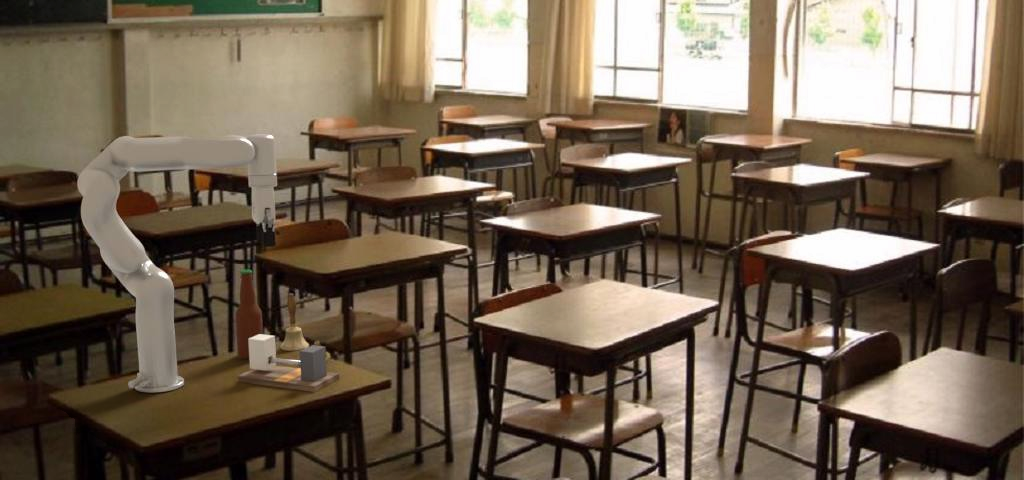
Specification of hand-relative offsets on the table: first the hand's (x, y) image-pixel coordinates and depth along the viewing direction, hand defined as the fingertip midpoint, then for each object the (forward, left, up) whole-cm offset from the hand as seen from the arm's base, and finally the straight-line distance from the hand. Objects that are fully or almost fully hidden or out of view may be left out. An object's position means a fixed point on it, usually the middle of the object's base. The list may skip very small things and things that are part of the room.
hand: (266, 243), depth 337 cm
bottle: (+6, +12, -35) cm, 37 cm away
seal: (+10, -7, -35) cm, 37 cm away
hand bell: (+19, +6, -35) cm, 40 cm away
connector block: (-9, -19, -33) cm, 39 cm away
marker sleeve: (-9, -3, -32) cm, 33 cm away
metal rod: (-9, -9, -31) cm, 33 cm away
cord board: (-9, -11, -35) cm, 38 cm away
